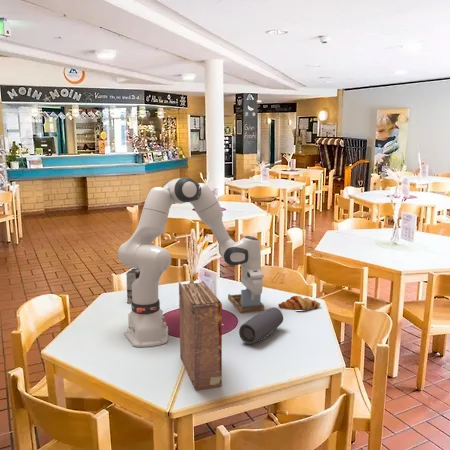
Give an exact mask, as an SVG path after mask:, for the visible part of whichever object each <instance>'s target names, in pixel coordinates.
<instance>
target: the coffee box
mask: <svg viewBox="0 0 450 450" xmlns="http://www.w3.org/2000/svg"><path fill="white" fill-rule="evenodd" d="M125 275H126V297H127V299H126V300H127V304H131V301H132V283H133V282H134V281H135V280H136V279H137V278H139V276H140V269H137V268H133V267H132V268H131V269H130V270H129V271H127V272H126V273H125Z"/></svg>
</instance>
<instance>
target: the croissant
mask: <svg viewBox="0 0 450 450" xmlns="http://www.w3.org/2000/svg"><path fill="white" fill-rule="evenodd" d="M278 307H279V308H280V309H282V310H283V309H284V310H290V311H291V310H292V311H295V310H307V311H309V310H308V309H311V310H314V309H317V307H318V308H319V307H321V302H318V301H317V300H312V299H310V298H309V297H304V298H303V297H302V296H301V295H292V296H291V297H290V298H288V299H286V301H282V302H280V303H278ZM313 308H314V309H313Z"/></svg>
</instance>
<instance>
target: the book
mask: <svg viewBox="0 0 450 450" xmlns="http://www.w3.org/2000/svg"><path fill="white" fill-rule="evenodd" d="M178 302H179V303H178V306H179V307H178V308H179V353H180V355H179V356H180V360H181V362H182V364H183V366H184V369H185V371H186V374H187V375H188V378H189V379H190V382H191V384H192V386H193V388H194V391H200V390H205V389H206V390H207V389H212V388H218V387H219V388H220V387H222V381H223V380H222V378H223V377H222V374H223V373H222V370H223V369H222V367H223V366H222V363H223V360H222V359H223V358H222V356H223V354H222V353H223V352H222V351H223V349H222V347H223V346H222V345H223V344H222V343H223V342H222V341H223V339H222V337H223V335H222V334H223V333H222V332H223V330H222V329H223V327H222V326H223V303H222V302H221V301H220V299H219V298H218V296H216V294H215V293H214V292H213V290H212V289H211V288H210V287H209V286H208V285H207V283H206V282H205V281H204V280H201V282H195V283H194V282H193V283H185V284H184V283H183V284H182V283H181V282H178Z"/></svg>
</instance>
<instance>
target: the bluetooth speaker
mask: <svg viewBox="0 0 450 450" xmlns="http://www.w3.org/2000/svg"><path fill="white" fill-rule="evenodd" d="M283 322H284V315H283V312H282V311H281V310H280V309H279V308H278V307H275V306H273V307H269V308H267V309H264V311H260V312H258V314H256V315H253V317H251V318H250V319H248V320H246V321H245V322H244V323H243V324H241V326H240V327H239V330H238V334H239V338H240V339H241V341H243V342H244V343H245V344H249V345H251V344H254V343H257V342H260V341H262V340H263V338H264V337H265V338H266V337H268V336H269V335H270V334H271V333H272V332H273V331H275V330H276V329H277V328H278V327H279V326H281V325H282V323H283ZM267 335H268V336H267ZM265 338H264V339H265ZM261 339H262V340H261ZM259 340H260V341H259Z"/></svg>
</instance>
